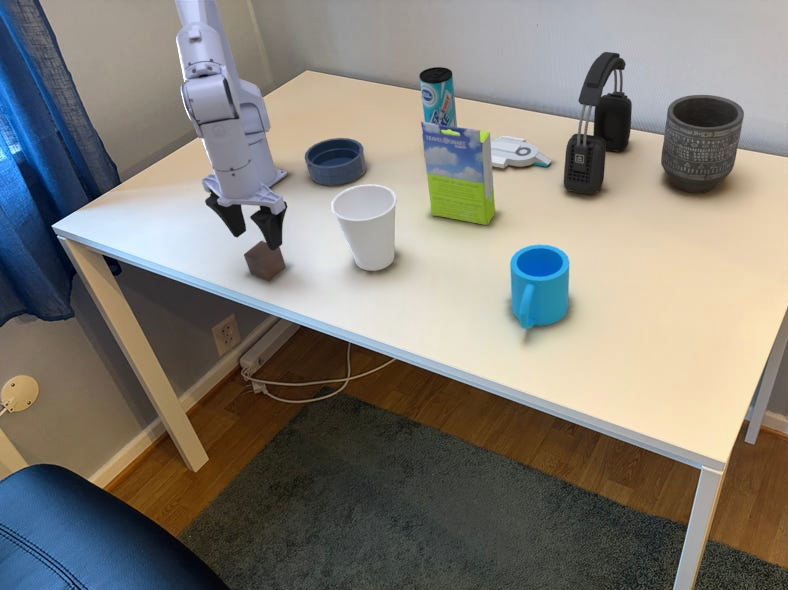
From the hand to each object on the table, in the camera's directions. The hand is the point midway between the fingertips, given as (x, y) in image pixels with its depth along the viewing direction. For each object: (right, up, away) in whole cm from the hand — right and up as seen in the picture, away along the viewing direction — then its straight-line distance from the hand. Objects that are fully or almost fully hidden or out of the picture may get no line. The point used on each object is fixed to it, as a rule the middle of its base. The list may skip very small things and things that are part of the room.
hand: (258, 240), depth 113 cm
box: (+31, +6, +12) cm, 34 cm away
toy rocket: (+40, +19, +25) cm, 51 cm away
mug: (+42, -12, -7) cm, 45 cm away
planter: (+72, +13, +15) cm, 75 cm away
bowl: (+8, +17, +25) cm, 31 cm away
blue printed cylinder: (+27, +22, +28) cm, 45 cm away
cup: (+18, -3, +5) cm, 18 cm away
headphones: (+56, +17, +21) cm, 62 cm away
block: (0, -4, +4) cm, 6 cm away
